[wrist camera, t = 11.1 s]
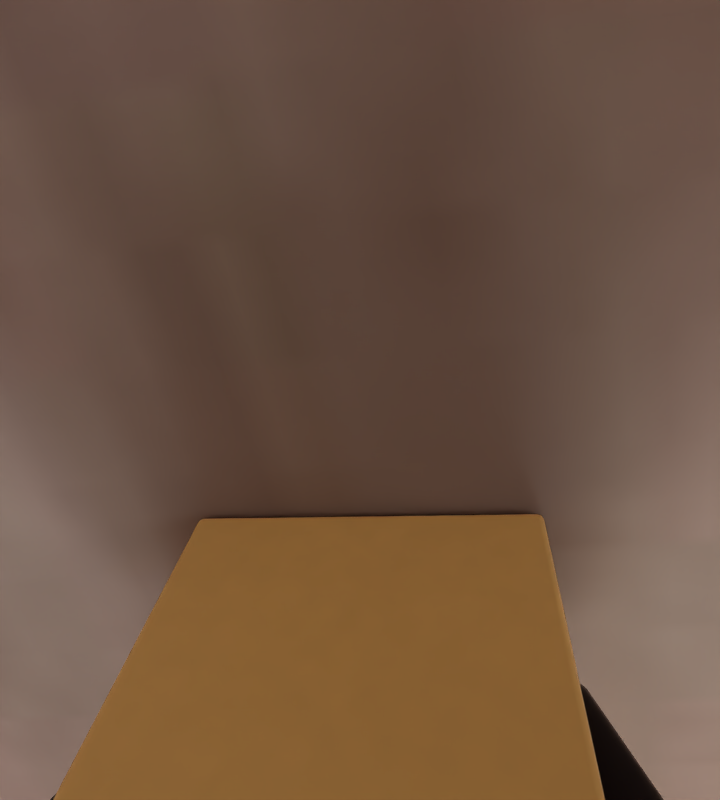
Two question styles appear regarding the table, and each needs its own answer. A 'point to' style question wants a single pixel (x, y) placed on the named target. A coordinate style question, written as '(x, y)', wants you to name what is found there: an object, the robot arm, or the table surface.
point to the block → (349, 669)
